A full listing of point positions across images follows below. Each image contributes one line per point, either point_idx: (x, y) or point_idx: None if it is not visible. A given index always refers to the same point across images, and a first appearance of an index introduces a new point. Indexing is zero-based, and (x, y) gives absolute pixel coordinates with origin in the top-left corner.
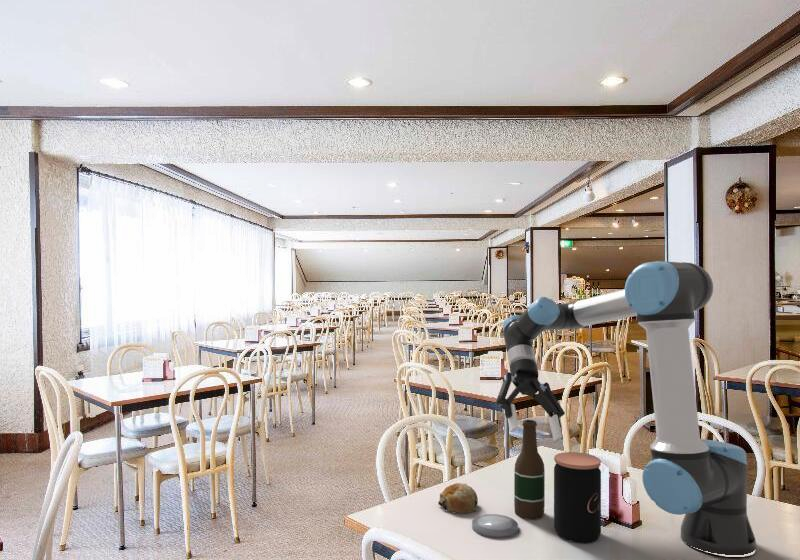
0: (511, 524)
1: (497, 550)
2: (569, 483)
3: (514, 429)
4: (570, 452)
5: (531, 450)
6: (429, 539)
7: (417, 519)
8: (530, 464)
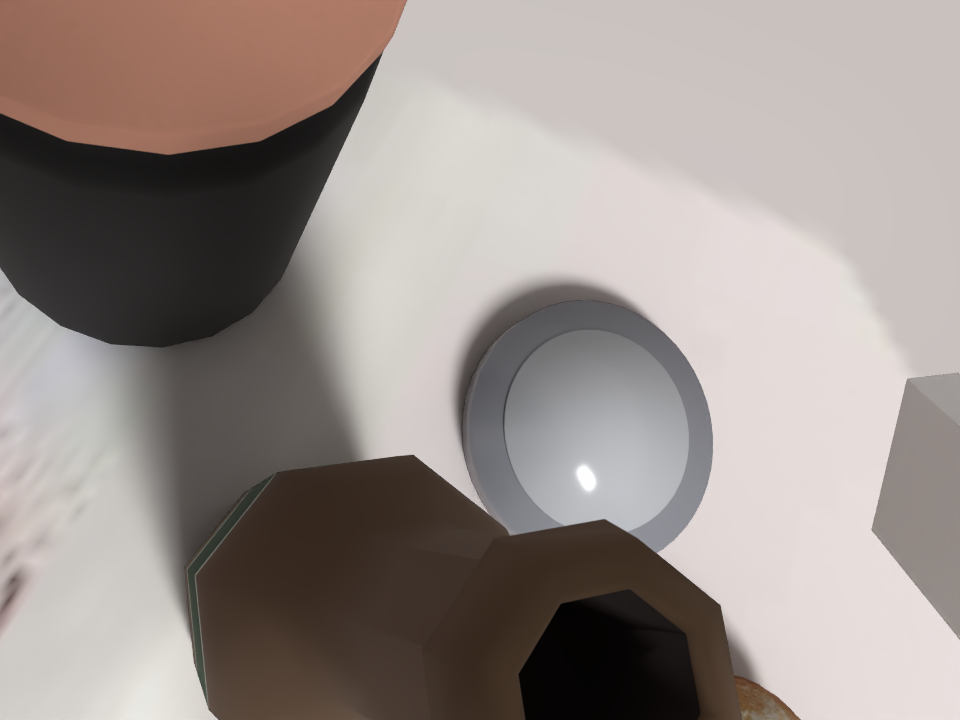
0: (521, 377)
1: (652, 199)
2: None
3: (902, 457)
4: (58, 92)
5: (447, 525)
6: (894, 396)
7: (919, 641)
8: (438, 477)
